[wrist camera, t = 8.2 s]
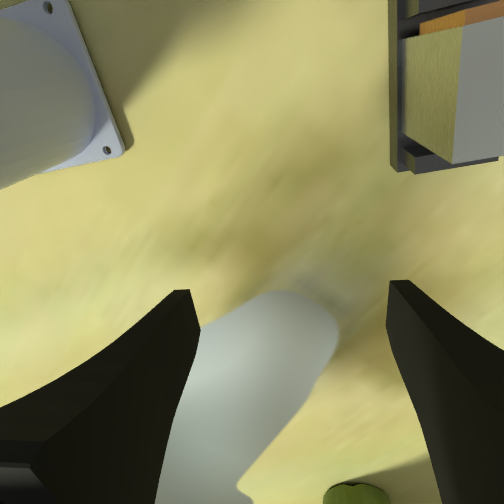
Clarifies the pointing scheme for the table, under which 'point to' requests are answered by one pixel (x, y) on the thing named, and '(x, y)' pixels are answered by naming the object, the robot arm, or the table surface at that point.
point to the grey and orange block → (456, 84)
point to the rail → (401, 27)
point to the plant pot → (355, 495)
